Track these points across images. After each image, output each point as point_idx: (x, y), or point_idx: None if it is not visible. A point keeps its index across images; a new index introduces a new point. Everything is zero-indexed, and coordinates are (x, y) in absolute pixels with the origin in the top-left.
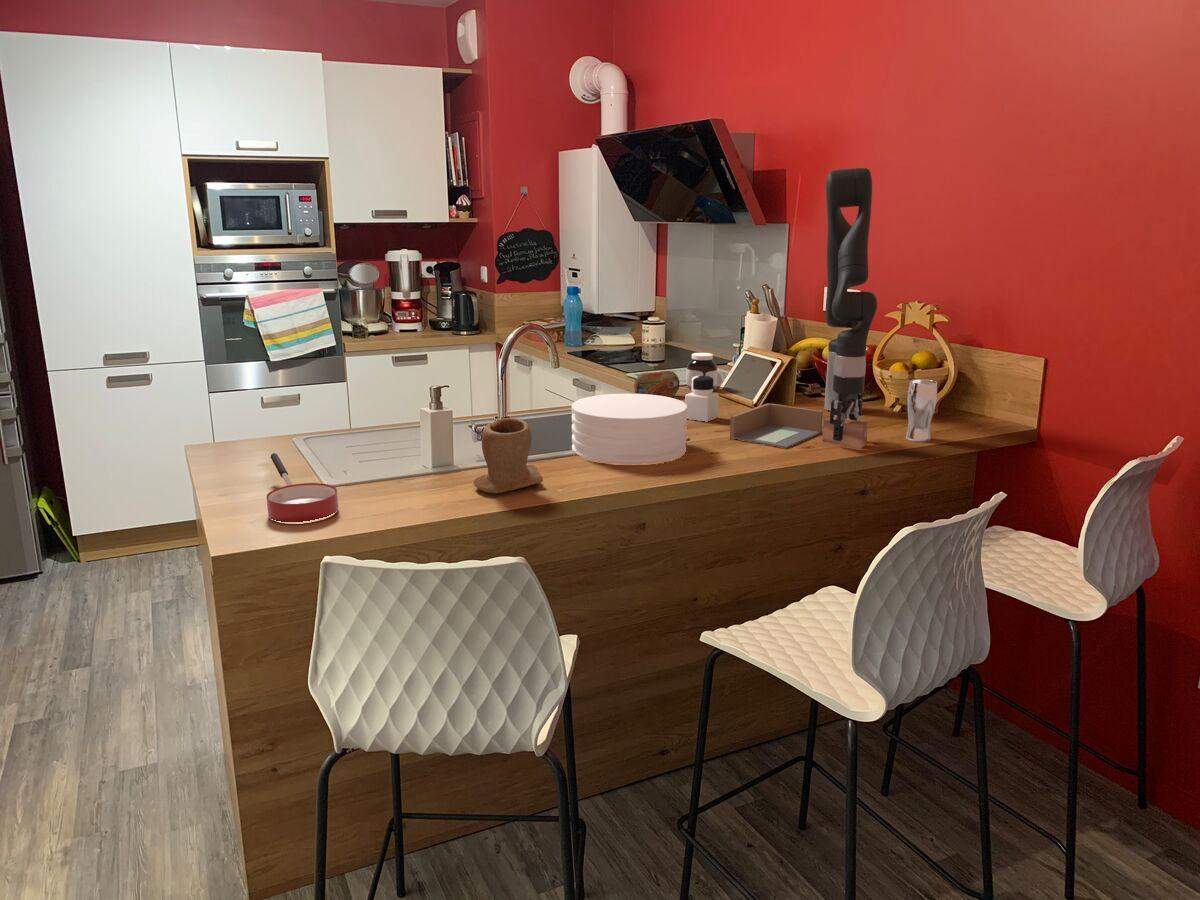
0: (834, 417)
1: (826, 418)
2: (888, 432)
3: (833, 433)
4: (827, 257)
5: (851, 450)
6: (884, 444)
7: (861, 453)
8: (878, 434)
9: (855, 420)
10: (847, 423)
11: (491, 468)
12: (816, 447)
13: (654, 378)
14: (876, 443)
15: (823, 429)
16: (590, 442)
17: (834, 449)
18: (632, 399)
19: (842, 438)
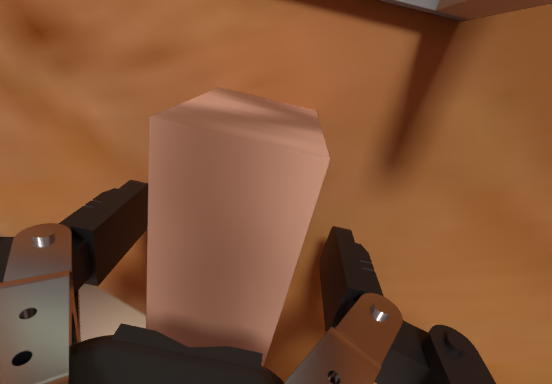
0: (6, 273)
1: (209, 134)
2: (544, 342)
3: (111, 194)
4: None
5: (139, 248)
6: (309, 339)
7: (120, 285)
8: (494, 313)
9: (262, 349)
10: (147, 312)
11: None
12: (74, 82)
13: None
14: (313, 316)
15: (191, 101)
16: None
17: (103, 181)
18: None
19: (142, 231)
